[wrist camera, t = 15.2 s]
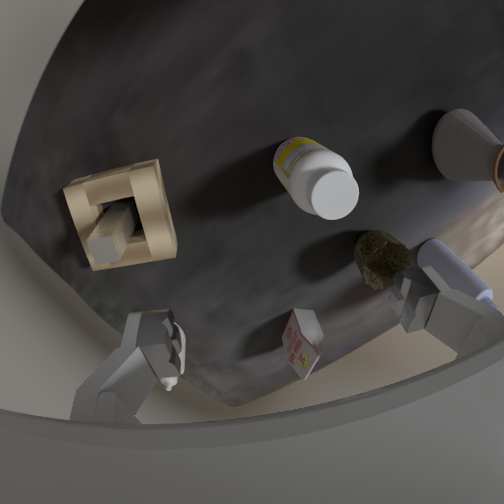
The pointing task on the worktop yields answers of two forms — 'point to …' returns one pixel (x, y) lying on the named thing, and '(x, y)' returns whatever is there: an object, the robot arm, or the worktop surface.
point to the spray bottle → (454, 271)
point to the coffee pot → (467, 149)
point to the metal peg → (113, 233)
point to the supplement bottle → (316, 178)
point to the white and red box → (302, 341)
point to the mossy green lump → (380, 257)
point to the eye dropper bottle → (173, 380)
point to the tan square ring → (148, 203)
